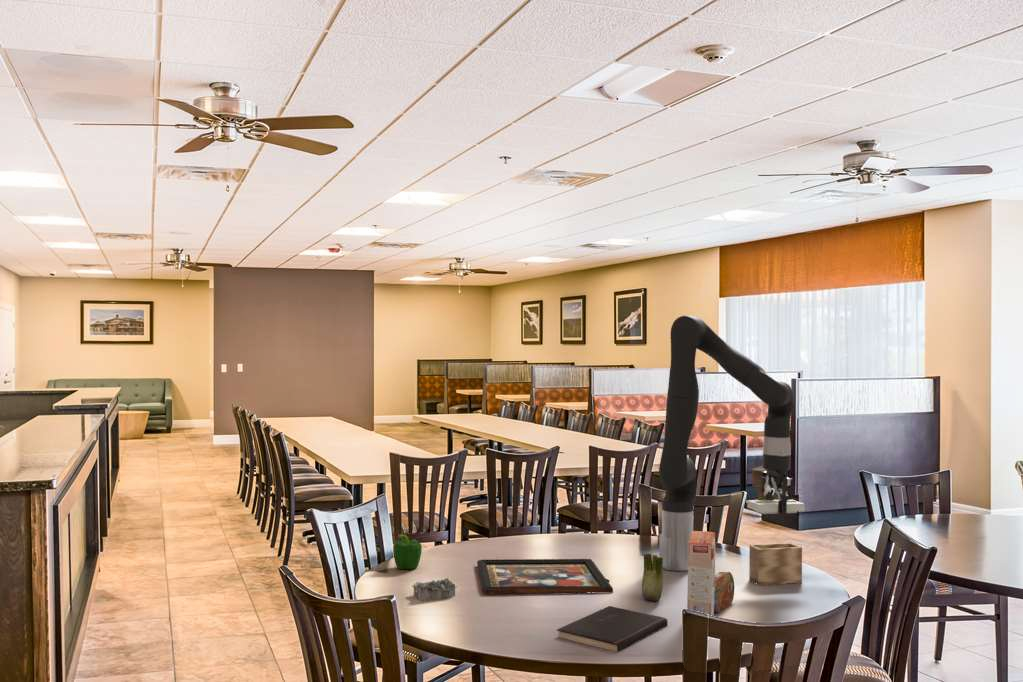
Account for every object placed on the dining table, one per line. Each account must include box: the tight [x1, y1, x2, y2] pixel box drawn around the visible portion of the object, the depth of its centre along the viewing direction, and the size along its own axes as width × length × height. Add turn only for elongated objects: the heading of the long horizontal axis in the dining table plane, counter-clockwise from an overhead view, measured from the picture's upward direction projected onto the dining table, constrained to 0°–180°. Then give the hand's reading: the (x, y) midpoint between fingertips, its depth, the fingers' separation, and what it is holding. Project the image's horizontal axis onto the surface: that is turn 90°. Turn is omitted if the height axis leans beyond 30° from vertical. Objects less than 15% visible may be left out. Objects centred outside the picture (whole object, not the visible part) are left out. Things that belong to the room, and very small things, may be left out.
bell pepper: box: [392, 534, 423, 570], centre depth 260 cm, size 8×8×10 cm
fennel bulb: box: [641, 553, 664, 602], centre depth 229 cm, size 6×5×12 cm
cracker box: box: [686, 530, 716, 616], centre depth 210 cm, size 14×6×21 cm, turn 164°
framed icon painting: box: [476, 558, 614, 596], centre depth 250 cm, size 38×35×3 cm
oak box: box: [748, 542, 803, 586], centre depth 248 cm, size 13×6×10 cm, turn 102°
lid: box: [746, 498, 806, 515], centre depth 248 cm, size 14×7×3 cm, turn 103°
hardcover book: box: [556, 605, 668, 653], centre depth 204 cm, size 16×23×2 cm
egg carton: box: [411, 577, 458, 602], centre depth 232 cm, size 11×8×4 cm
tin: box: [714, 571, 735, 613], centre depth 223 cm, size 15×3×8 cm, turn 146°
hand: (775, 511), depth 248 cm, fingers closed on lid, 6 cm apart
